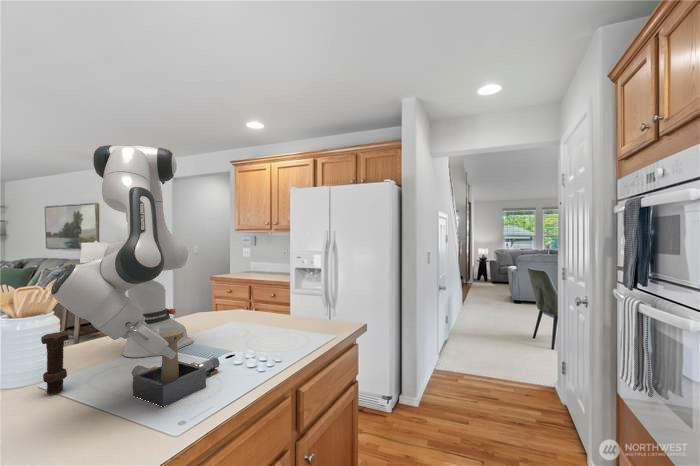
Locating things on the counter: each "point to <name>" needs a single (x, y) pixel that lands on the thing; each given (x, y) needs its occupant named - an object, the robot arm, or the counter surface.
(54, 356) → the bolt
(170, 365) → the handle
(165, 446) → the counter surface
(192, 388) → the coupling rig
